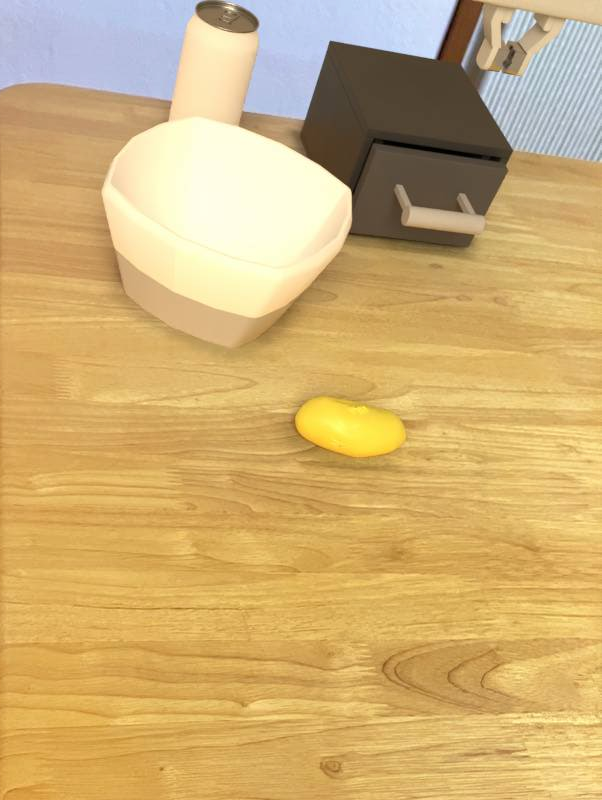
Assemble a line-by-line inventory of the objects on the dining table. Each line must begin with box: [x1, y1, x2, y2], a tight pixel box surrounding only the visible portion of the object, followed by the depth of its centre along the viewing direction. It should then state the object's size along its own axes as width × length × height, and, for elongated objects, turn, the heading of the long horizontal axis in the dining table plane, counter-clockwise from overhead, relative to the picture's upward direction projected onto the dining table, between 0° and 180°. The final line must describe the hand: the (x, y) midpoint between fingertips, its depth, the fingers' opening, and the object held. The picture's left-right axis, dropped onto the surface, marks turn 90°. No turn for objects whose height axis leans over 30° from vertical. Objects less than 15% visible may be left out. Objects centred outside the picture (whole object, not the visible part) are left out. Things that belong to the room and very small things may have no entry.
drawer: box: [348, 138, 509, 248], centre depth 80 cm, size 20×12×8 cm, turn 7°
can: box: [167, 0, 260, 127], centre depth 80 cm, size 6×6×12 cm
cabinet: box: [299, 40, 514, 194], centre depth 83 cm, size 16×14×10 cm
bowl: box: [100, 116, 352, 349], centre depth 67 cm, size 18×18×9 cm
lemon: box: [294, 395, 407, 459], centre depth 62 cm, size 4×8×4 cm, turn 82°
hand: (497, 69), depth 67 cm, fingers closed
